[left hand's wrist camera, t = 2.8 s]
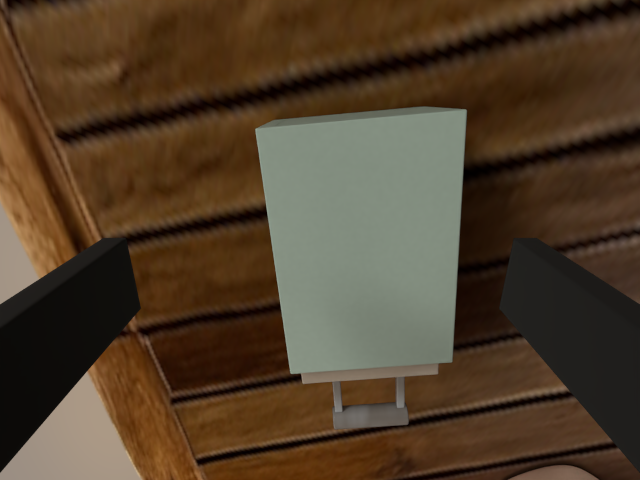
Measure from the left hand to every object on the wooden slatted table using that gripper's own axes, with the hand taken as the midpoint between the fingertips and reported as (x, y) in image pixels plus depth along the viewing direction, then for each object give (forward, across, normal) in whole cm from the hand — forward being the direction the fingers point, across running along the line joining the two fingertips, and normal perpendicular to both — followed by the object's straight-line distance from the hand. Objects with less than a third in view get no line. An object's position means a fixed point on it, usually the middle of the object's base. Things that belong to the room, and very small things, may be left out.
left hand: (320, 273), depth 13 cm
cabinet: (+16, +3, -3) cm, 17 cm away
